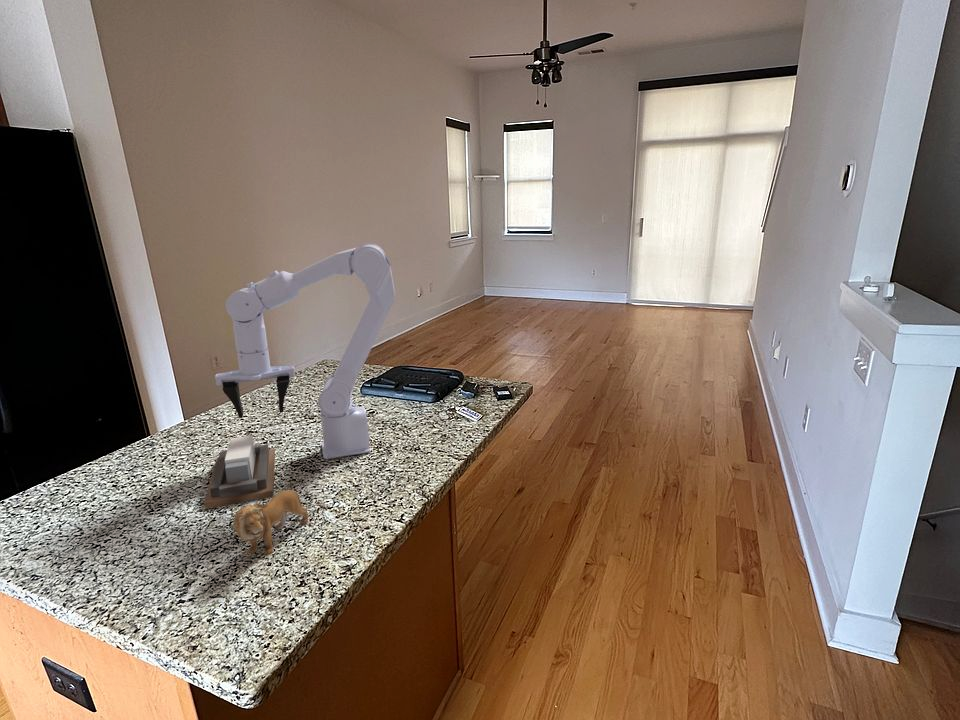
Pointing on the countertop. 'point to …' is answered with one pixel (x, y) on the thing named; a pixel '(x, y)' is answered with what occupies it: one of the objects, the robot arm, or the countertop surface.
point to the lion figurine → (267, 518)
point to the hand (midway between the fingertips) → (261, 413)
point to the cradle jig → (243, 490)
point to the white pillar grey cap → (240, 459)
